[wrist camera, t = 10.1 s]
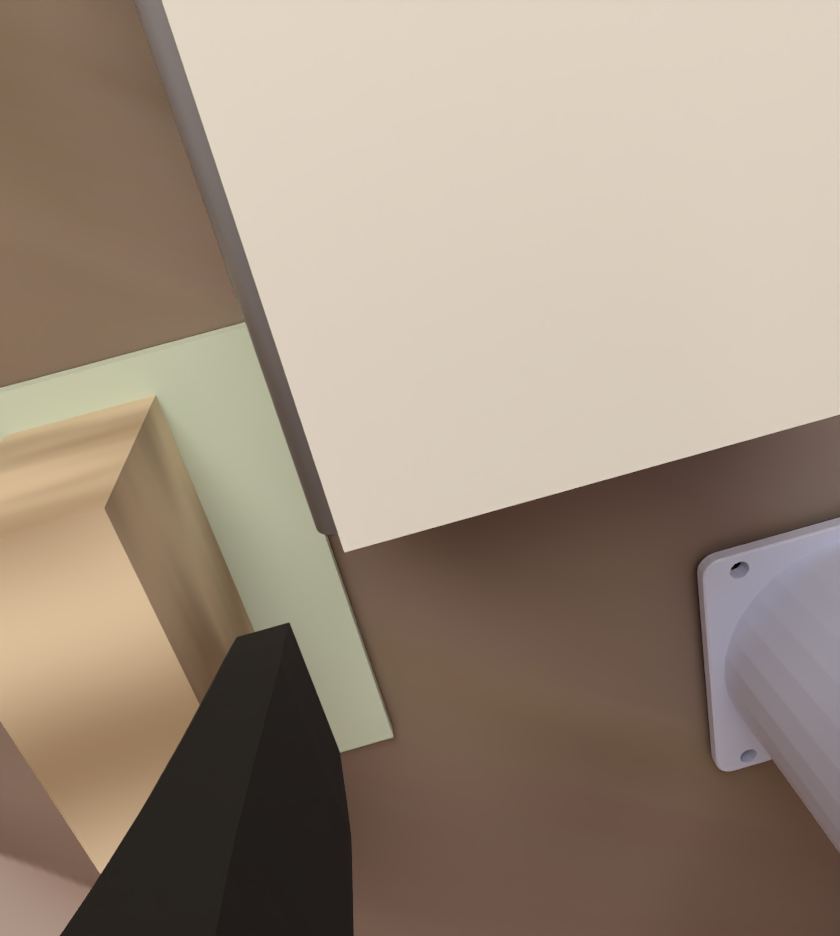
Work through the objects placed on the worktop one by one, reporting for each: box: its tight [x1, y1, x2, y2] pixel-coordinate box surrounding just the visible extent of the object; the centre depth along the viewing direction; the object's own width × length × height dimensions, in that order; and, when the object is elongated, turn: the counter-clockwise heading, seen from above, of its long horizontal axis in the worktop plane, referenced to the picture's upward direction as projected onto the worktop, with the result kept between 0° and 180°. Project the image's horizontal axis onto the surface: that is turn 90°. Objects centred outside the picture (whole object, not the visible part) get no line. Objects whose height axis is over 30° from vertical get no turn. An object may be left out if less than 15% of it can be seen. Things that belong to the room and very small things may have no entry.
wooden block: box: [0, 395, 255, 874], centre depth 16 cm, size 10×3×5 cm, turn 13°
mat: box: [0, 322, 393, 752], centre depth 19 cm, size 8×12×1 cm, turn 13°
